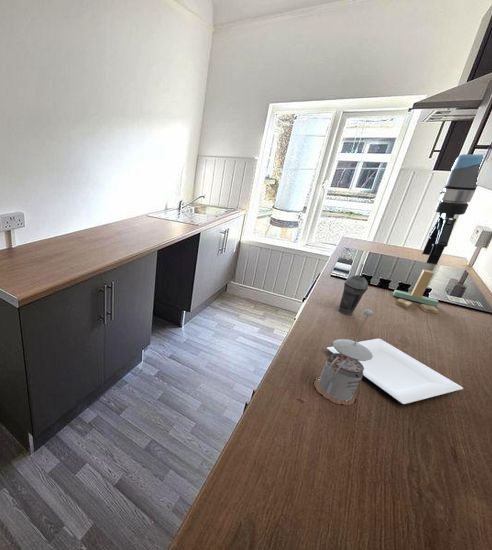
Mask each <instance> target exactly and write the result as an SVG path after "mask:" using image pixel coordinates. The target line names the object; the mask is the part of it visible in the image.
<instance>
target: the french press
mask: <svg viewBox="0 0 492 550" xmlns="http://www.w3.org/2000/svg"><path fill="white" fill-rule="evenodd" d="M362 314H363V315H364V316H365V319H364V321H363V323H362V326H361V328H360V330H359V332H358V335H357V337H356V339H355V341H354V340H352V339H343V338H342V339H340V338H339V339H335V340H333V342H332V345H333V346H334V348H335V349H336V350H337V351H338V352H339V353H334V354H333V353H331V354H330V355H329V357H328V358H327V359H326V361H325V364H324V365H323V366H324V367H323V370H322V371H321V374H320V376H319V378H320V379H318V380H319V386H320V387H321V389H322V390H323V391H325V392H326V393H327V394H329V395H330V396H332V397H334V398H338V399H340V400H346V401H348V400H350V399H352V397H353V395H354V394H355V393H356V391H357V389H358V386H360V381H362V379H363V377H364V376H363V370H364V367H363V365H362V364H361V363H360V362H359V361H367V360H371V359H372V357H373V355H372V353H371V352H370V351H369V350H368V349H367V348H366V347H364V346H363V345H361V344H359V343H358V342H359V341H358V339H359V337H360V335H361V332H362V331H363V328H364V326H365V323H366V322H367V319H368V317H373V316H374V315H375V314H374V311H373V310H372V309H364V310H363V312H362ZM333 346H332V347H333Z"/></svg>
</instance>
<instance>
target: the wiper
mask: <svg viewBox="0 0 492 550" xmlns="http://www.w3.org/2000/svg"><path fill="white" fill-rule="evenodd" d="M433 276H434V271H433V270H431V269H430V270H429V269H425V268H424V269H422V270H421V273H420V274H419V277H418V278H417V281H416V282H415V285H414V287H413V289H412V291H411V292H408V291H403V290H398V289H394V291H393V293H392V297H395V298H398V299H403V300H406V301H410V302H415V303H418V304H419V303H420V304H425V305H431V306H434V307H435V308H436V307H437V306H438V305H439V303H440V302H439V299H436V298H432V297H427V296H424V293H425V291H426V290H427V288H428V285H429V283H430V282H431V280H432V278H433Z"/></svg>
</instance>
